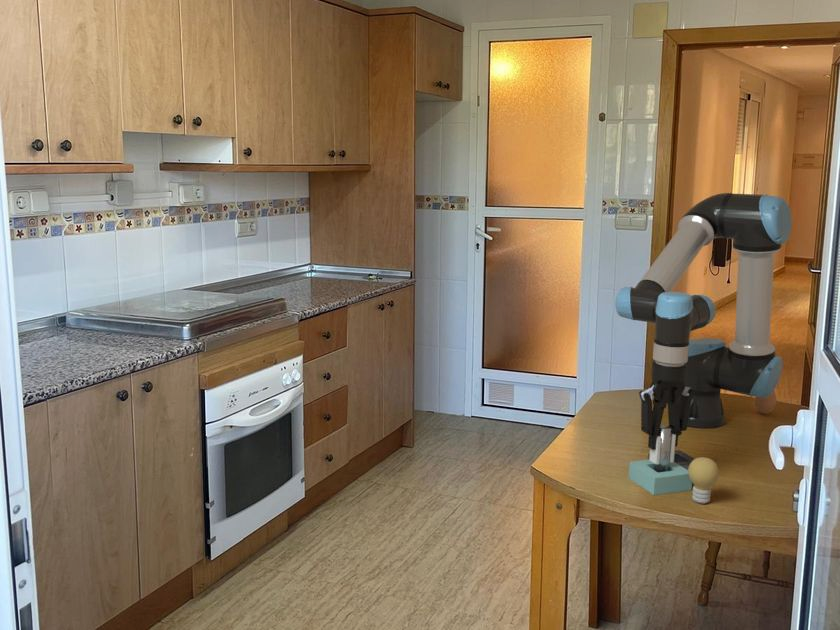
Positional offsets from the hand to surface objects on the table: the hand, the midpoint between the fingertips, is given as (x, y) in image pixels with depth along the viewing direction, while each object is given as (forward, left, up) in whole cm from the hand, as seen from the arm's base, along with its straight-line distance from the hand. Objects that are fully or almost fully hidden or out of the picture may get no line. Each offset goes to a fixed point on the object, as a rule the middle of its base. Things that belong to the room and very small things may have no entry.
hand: (661, 460), depth 191 cm
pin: (0, 0, -5) cm, 5 cm away
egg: (-60, -35, -6) cm, 70 cm away
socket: (0, 0, -6) cm, 6 cm away
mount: (-9, -7, -6) cm, 13 cm away
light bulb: (-3, +11, -6) cm, 13 cm away
